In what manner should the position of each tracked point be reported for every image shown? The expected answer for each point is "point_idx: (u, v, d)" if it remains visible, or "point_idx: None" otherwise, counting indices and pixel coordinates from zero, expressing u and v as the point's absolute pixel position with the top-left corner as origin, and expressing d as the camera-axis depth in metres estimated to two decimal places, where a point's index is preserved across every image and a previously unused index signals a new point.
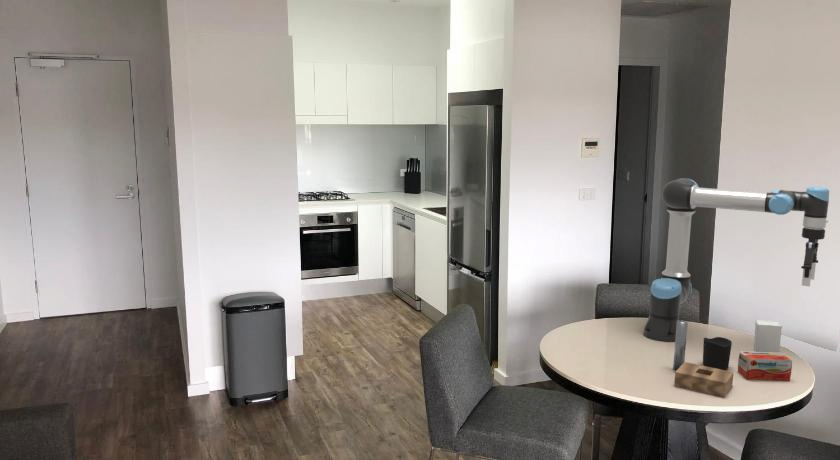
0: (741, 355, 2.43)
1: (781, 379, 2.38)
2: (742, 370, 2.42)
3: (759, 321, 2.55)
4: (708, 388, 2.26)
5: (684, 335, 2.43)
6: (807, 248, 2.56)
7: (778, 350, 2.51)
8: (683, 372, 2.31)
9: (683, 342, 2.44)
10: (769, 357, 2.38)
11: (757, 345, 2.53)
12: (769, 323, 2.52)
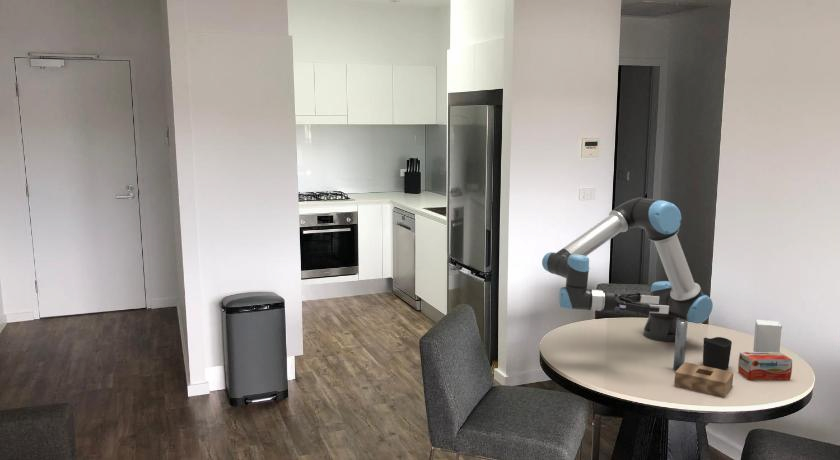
0: (742, 355, 2.43)
1: (782, 379, 2.38)
2: (743, 371, 2.41)
3: (759, 321, 2.55)
4: (708, 388, 2.26)
5: (684, 335, 2.43)
6: None
7: (778, 350, 2.51)
8: (683, 372, 2.31)
9: (683, 342, 2.44)
10: (770, 357, 2.39)
11: (757, 345, 2.53)
12: (768, 323, 2.52)
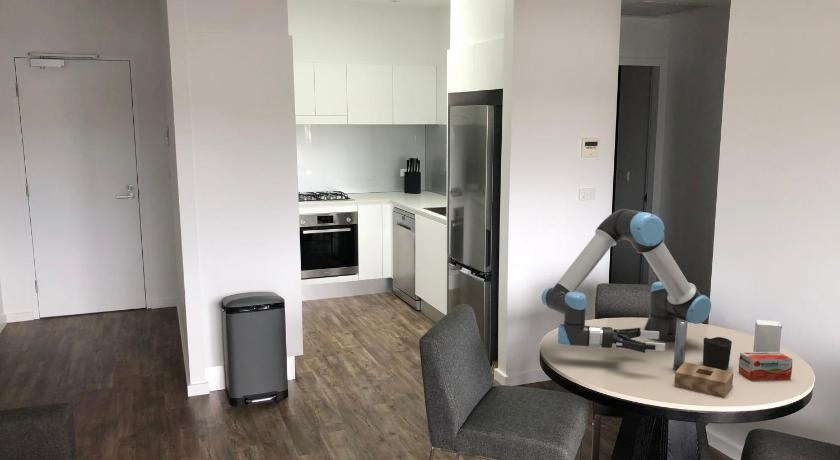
0: (742, 356, 2.42)
1: (782, 378, 2.39)
2: (744, 371, 2.41)
3: (759, 321, 2.55)
4: (708, 388, 2.26)
5: (684, 335, 2.43)
6: None
7: (778, 350, 2.51)
8: (683, 372, 2.31)
9: (683, 342, 2.44)
10: (770, 357, 2.39)
11: (757, 345, 2.53)
12: (768, 323, 2.52)
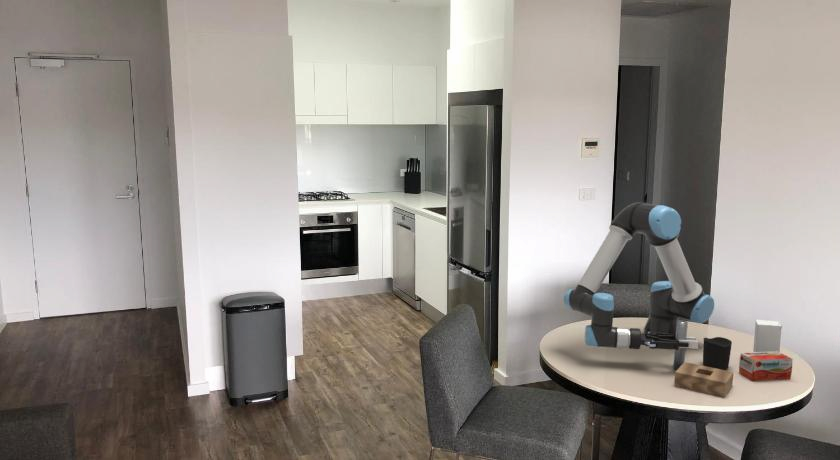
0: (743, 356, 2.42)
1: (783, 378, 2.39)
2: (746, 372, 2.40)
3: (759, 321, 2.55)
4: (708, 388, 2.26)
5: (684, 335, 2.43)
6: None
7: (778, 350, 2.51)
8: (683, 372, 2.31)
9: None
10: (771, 357, 2.39)
11: (757, 345, 2.53)
12: (768, 323, 2.52)
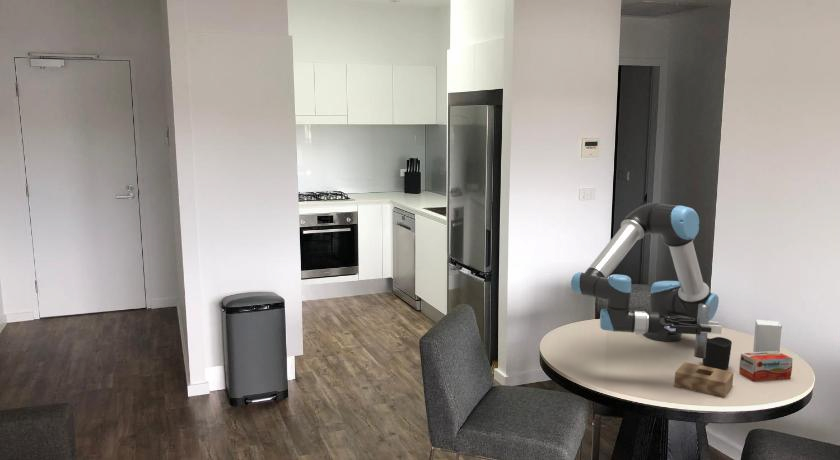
0: (743, 356, 2.42)
1: (783, 378, 2.39)
2: (746, 372, 2.40)
3: (759, 321, 2.55)
4: (708, 388, 2.26)
5: (706, 319, 2.28)
6: None
7: (778, 350, 2.51)
8: (683, 372, 2.31)
9: None
10: (771, 357, 2.39)
11: (757, 345, 2.53)
12: (768, 323, 2.52)
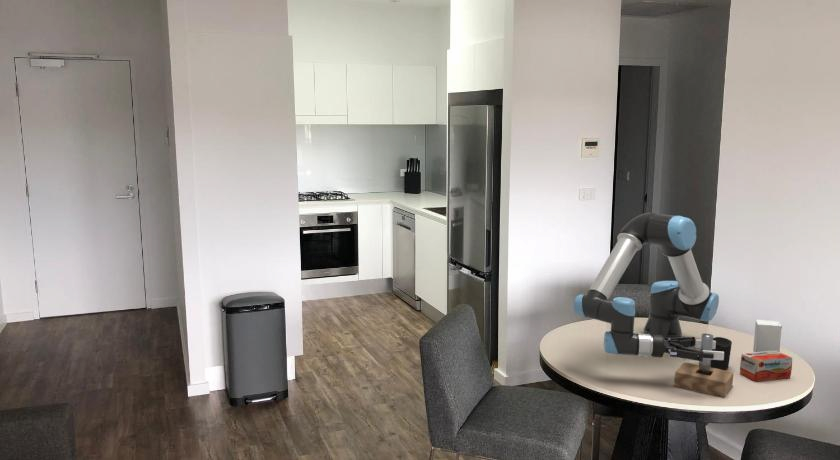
0: (744, 357, 2.41)
1: (783, 377, 2.40)
2: (748, 373, 2.40)
3: (759, 321, 2.55)
4: (708, 388, 2.26)
5: (710, 349, 2.28)
6: None
7: (778, 350, 2.51)
8: (683, 372, 2.31)
9: None
10: (772, 357, 2.39)
11: (757, 345, 2.53)
12: (768, 323, 2.52)
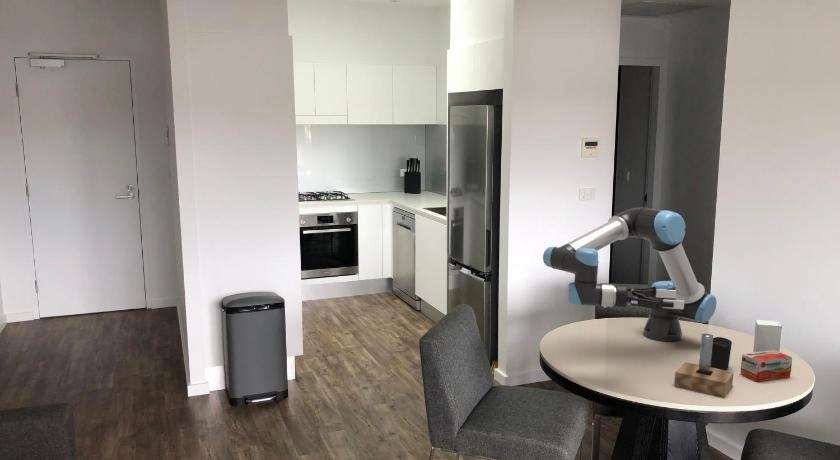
0: (745, 357, 2.41)
1: (783, 377, 2.40)
2: (749, 373, 2.39)
3: (759, 321, 2.55)
4: (708, 388, 2.26)
5: (709, 349, 2.28)
6: None
7: (778, 350, 2.51)
8: (683, 372, 2.31)
9: (708, 357, 2.29)
10: (773, 356, 2.39)
11: (757, 345, 2.53)
12: (768, 323, 2.52)
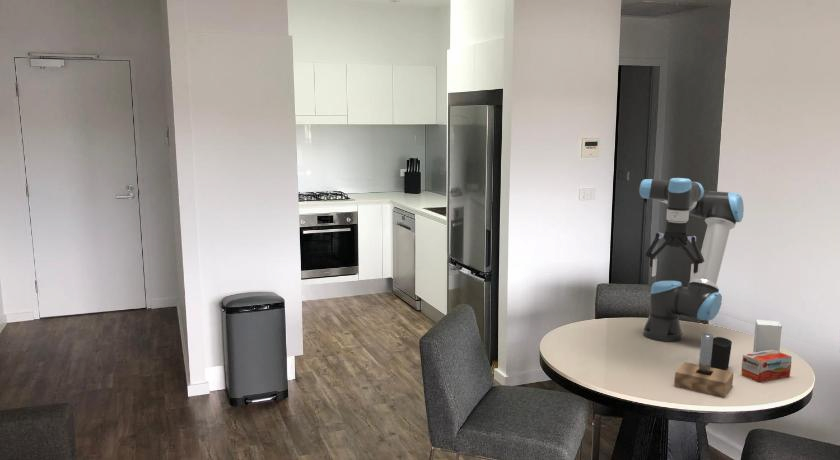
0: (746, 358, 2.40)
1: (783, 376, 2.40)
2: (750, 374, 2.39)
3: (759, 321, 2.55)
4: (708, 388, 2.26)
5: (710, 349, 2.28)
6: None
7: (778, 350, 2.51)
8: (683, 372, 2.31)
9: (708, 357, 2.29)
10: (773, 356, 2.39)
11: (757, 345, 2.53)
12: (768, 323, 2.52)
